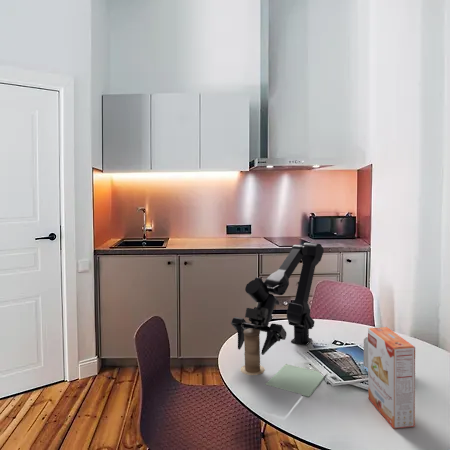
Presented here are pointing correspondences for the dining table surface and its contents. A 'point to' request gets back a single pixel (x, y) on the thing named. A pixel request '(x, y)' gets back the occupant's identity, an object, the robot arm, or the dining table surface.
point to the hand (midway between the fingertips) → (250, 351)
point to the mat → (296, 380)
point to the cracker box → (391, 376)
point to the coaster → (252, 373)
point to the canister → (252, 350)
